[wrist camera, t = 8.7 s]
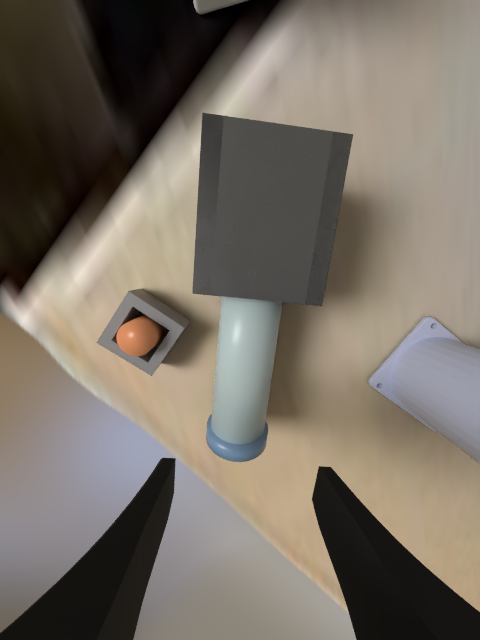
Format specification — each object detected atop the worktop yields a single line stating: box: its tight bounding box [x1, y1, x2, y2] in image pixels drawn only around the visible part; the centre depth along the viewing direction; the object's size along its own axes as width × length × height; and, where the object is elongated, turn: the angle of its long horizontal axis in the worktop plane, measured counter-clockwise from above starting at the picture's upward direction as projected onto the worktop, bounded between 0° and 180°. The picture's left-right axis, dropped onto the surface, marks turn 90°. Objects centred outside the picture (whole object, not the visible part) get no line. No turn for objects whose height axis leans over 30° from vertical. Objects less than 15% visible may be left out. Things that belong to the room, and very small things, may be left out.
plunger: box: [116, 314, 166, 356], centre depth 17 cm, size 3×3×3 cm
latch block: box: [97, 289, 190, 376], centre depth 18 cm, size 5×5×2 cm
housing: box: [193, 113, 353, 306], centre depth 15 cm, size 9×7×6 cm
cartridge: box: [206, 296, 283, 462], centre depth 17 cm, size 15×5×5 cm, turn 174°
